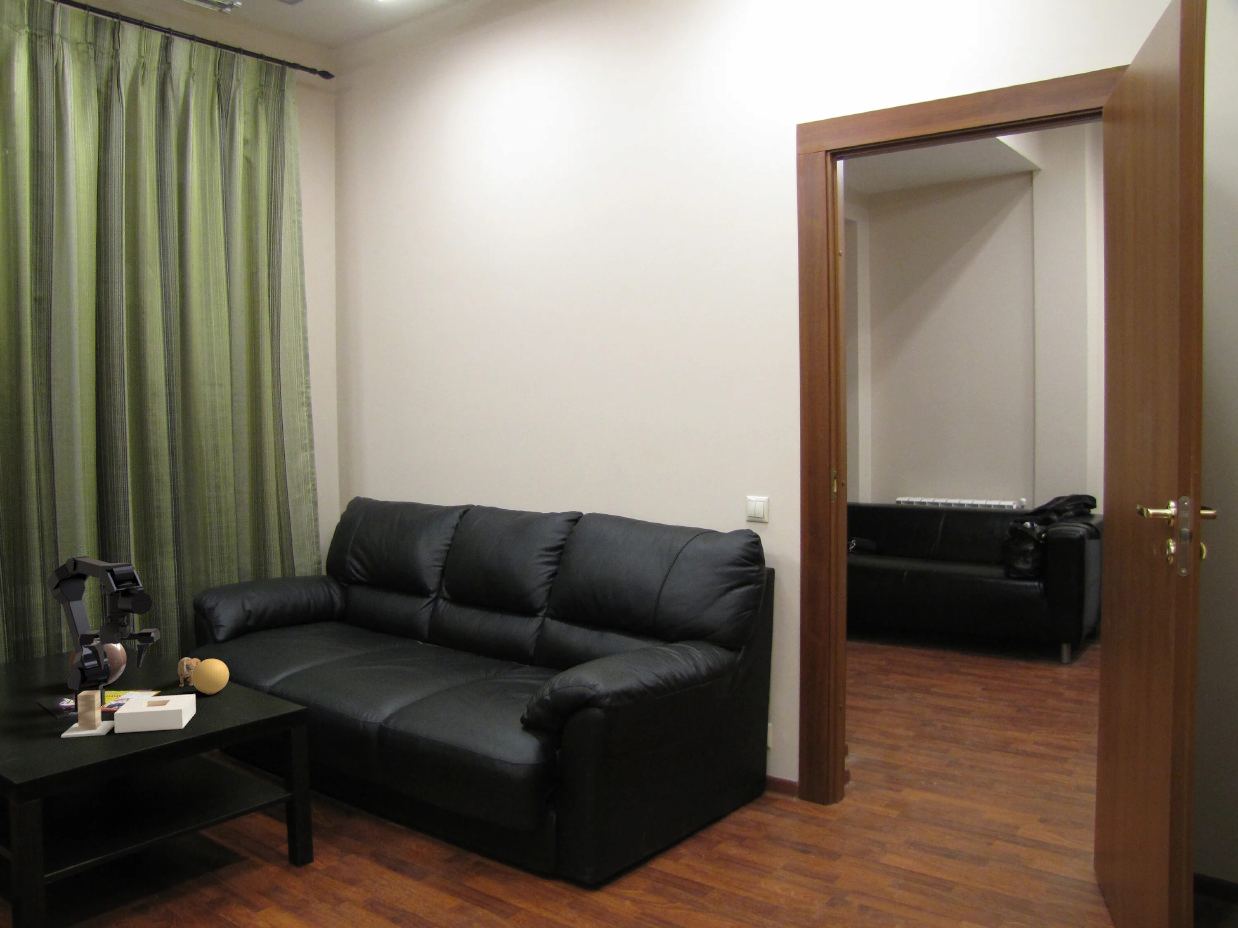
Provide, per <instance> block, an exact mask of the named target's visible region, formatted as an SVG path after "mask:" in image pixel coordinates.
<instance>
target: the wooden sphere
mask: <svg viewBox="0 0 1238 928" xmlns="http://www.w3.org/2000/svg"><path fill="white" fill-rule="evenodd" d="M103 646H104V651H105V652H106V654H107V658H108V661H109V663H110V667H111V669H110V675H109V680H108V683H106V684H103V687H105V686H107V685H109V684H112V683H113V682H116V680H117V679H119V677H120V676H121V675H122V674H123V672H124V670H125V668H126V666H127V652H126V650H125V648H124V647H123V645H122V644H121V642H120V643H118V644H105V645H103ZM75 656H76V651H75V648H74V649H73V651H72V652H71V654H70V657H69V661H68V663H69V664H68V665H69V666H68V667H69V671H70V673H71V674H72V672H73V662H74V659H75ZM71 674H70V675H71Z"/></svg>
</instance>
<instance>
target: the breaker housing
mask: <svg viewBox="0 0 1238 928" xmlns="http://www.w3.org/2000/svg"><path fill="white" fill-rule="evenodd" d="M196 703H197V702H196V693H193V694H177V695H176V694H174V695H160V696H143V697H142V696H141V697H140V696H139V697H130V698H129V700H127V701H126V702H125V703H124V704H123V705H122V706H120V707H119V708H118V709H117V710H116V711H115V712H114V714H113V715H114V717H113V719H114V720H113V721H114V722H115V726H114V733H115V734H119V733H120V734H121V733H133V732H134V733H135V732H149V731H152V732H153V731H162V730H163V731H164V730H179V729H181V730H182V729H184V728H185V726H186V725H187V724H188V723H189V721H191V719H192V717H194V715H195V714H196V713H197V711H196V710H197V708H196V707H197V706H196V705H197V704H196ZM162 705H165V706H162ZM149 706H154V707H149Z"/></svg>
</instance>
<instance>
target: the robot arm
mask: <svg viewBox="0 0 1238 928" xmlns="http://www.w3.org/2000/svg"><path fill="white" fill-rule="evenodd" d="M89 577H92V578H97V579H98V580H99V583H100V584H102V585H103V586H105V588H103V590H102V594H106V616H105V617H104V625H103V626H102V627H101V628H100V630H99V629H97V630H96V629H94V630H91V629H92V628H91V625H90V622H89V619H88V616H87V612H86V608H85V604H84V602H83V596H84V593H85V591H86V581H87V580H88V579H89ZM47 588H48V589H49V591H50V593H51V595H52V598H53V599H54V600H56V601H57V602H59V603H60V604H61V605H62V608H63V612H64V616H65V619H66V622H67V626H68V630H69V633H70V637H71V641H72V643H73V647H74V649H75V651H76V656H75V659H74V662H73V672H72V674H70V675H69V677H68V679H67V680H66V683H67V686H68V687H67V688H68V689H70V690H74V691H73V692H74V693H73V695H74V696H73V697H74V708H73V709H72V712H78V695H79V694H80V693H82V692H83V691H95V690H100V699H101V706H102V705H103V706H105V704H106V689H104V688H103V687H104V686H103V684H106V683H108V680H109V675H110V669H111V667H110V663H109V661H108V658H107V654H106V652H105V651H104V646H103V645H105V644H118V643H120V644H121V642H122V641H133V640H136V641H138V642H139V643H137V644H136V648H137V659H136V666H137V669H141V667H142V664H143V662H144V661H143V660H144V659H145V657H146V653H147V651H148V649H149V648H150V646H151V645H152V644H153V643H156V641H158V640H159V639H161V631H160V630H159V629H158V628H143V629H141V630H140V631H138V632H133V631H134V627H132V617H133V615H137V616H138V615H140V616H141V615H145V614H147V613H148V612H149V611H150V610H151V607H152V605H153V599H152V598H151V597H150V595H149V594H148V593H147V592H145V588H143V584H142V580H141V579H140V577H139V575H138V573H137V571H136V569H135V567H134V566H133V564H132V563H130V562H117V563H116V562H115V563H110V562H106V561H102V560H99V559H96V558H91V557H90V556H87V555H81V556H72V557H70V558H68V559H67V560H66V561H65V563H63V564H62V565H60V566H59V567H57V568H56V569H54V571H53V572H52V573H51V575H50V576H49V577H48V579H47ZM103 706H102V707H103Z"/></svg>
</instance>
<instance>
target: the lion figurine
mask: <svg viewBox="0 0 1238 928" xmlns="http://www.w3.org/2000/svg"><path fill="white" fill-rule="evenodd" d="M201 662H202V661H201V660H200V659H199V658H197V657H196V658H195V657H194V658H191V657H183V658H181V659H180V660H179V662H178V664H177V668H176V670H177V674H178V675H179V680H180V684H179V685H178V686H179V687H180V688H181V687H184V685H185V683H184V678H187V677H188V678H187V679H186V681H187V682H188V686H190V687H192V686H194V684H193V682H192V674H193V670H194V668H195V667H196V665H197V664H198V663H201Z"/></svg>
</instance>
